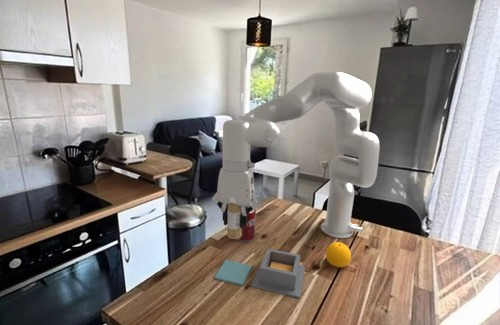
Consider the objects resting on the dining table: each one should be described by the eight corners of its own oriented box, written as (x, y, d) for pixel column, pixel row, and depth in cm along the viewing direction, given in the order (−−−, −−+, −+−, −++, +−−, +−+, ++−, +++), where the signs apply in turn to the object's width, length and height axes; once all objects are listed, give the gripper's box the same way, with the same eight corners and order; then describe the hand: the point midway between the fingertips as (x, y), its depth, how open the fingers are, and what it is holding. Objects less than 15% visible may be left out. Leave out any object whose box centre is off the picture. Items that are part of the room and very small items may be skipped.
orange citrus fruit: (350, 260, 91) (353, 241, 89) (348, 274, 84) (351, 253, 82) (326, 254, 94) (329, 235, 92) (322, 266, 87) (325, 246, 85)
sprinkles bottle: (238, 230, 82) (239, 190, 79) (244, 238, 78) (245, 195, 75) (224, 233, 80) (224, 192, 77) (230, 241, 76) (230, 197, 73)
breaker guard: (305, 267, 86) (306, 252, 85) (300, 298, 73) (301, 281, 72) (263, 258, 90) (264, 244, 89) (251, 286, 77) (252, 270, 76)
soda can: (255, 233, 106) (256, 205, 103) (253, 243, 99) (255, 213, 96) (237, 231, 107) (238, 204, 104) (234, 241, 100) (235, 212, 97)
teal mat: (251, 267, 86) (251, 265, 86) (242, 285, 78) (242, 283, 77) (225, 261, 88) (225, 259, 88) (214, 278, 80) (214, 276, 80)
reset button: (292, 270, 84) (293, 265, 83) (289, 284, 78) (289, 280, 77) (271, 265, 86) (271, 261, 85) (266, 279, 79) (266, 274, 79)
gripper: (268, 165, 75) (265, 223, 80) (213, 158, 80) (213, 214, 84) (262, 172, 68) (259, 236, 73) (202, 165, 73) (203, 225, 77)
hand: (234, 224), depth 79 cm, fingers closed on sprinkles bottle, 4 cm apart
